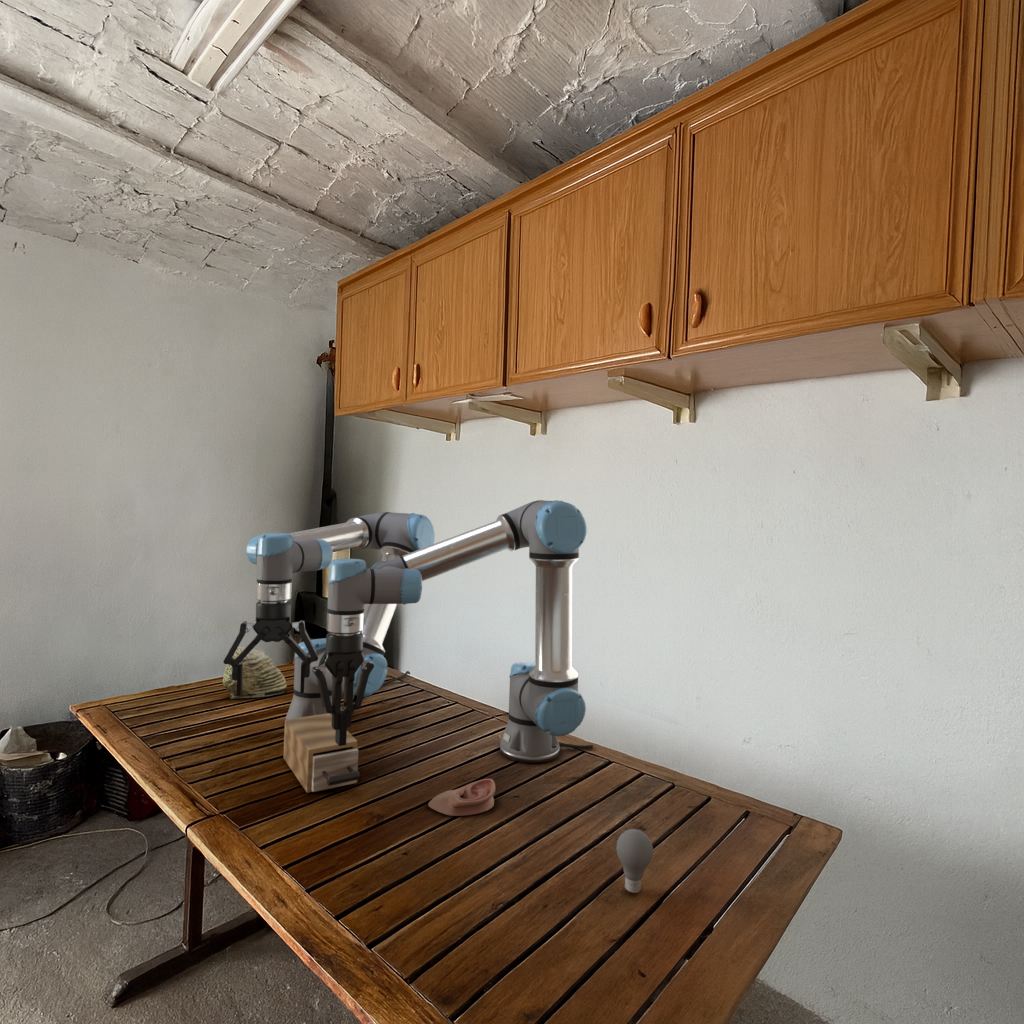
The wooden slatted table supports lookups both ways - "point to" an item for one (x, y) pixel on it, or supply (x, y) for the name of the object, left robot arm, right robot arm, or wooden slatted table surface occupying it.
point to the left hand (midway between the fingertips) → (271, 692)
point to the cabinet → (310, 744)
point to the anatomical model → (466, 799)
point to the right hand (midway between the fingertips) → (340, 743)
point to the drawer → (334, 768)
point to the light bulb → (634, 857)
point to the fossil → (255, 676)
